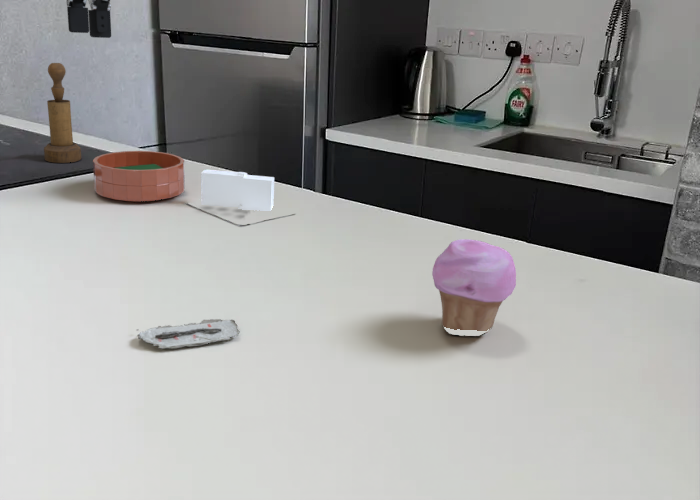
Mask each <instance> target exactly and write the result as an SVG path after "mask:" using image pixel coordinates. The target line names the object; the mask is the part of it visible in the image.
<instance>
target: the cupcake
mask: <svg viewBox="0 0 700 500" xmlns="http://www.w3.org/2000/svg"><path fill="white" fill-rule="evenodd" d="M516 269H517V268H516V265H515V262H514V259H513V256H512V255H511V253H510V252H509V251H507V250H506V249H505V248H503V247H500V246H497V245H493V244H490V243H488V242H485V241H482V240H476V239H467V238H464V239H463V238H461V239H460V238H459V239H456V240H453V241H451V242H450V243H449V245H448V246H447V247H446V248H445V249H444V250H443V251H442V253H439V255H438V256H436V258H435V261H434V264H433V267H432V271H431V275H432V279H433V284H434V287H435V288H436V289H437V290H438V292H439V296H440V300H441V301H440V302H441V310H442V312H441V313H442V314H441V324H442V327H443V326H444V327H446V328H450V329H454V330H457V329H460V330H477V331H487V330H488V329H490V328H491V327H492V328H493V327H494V323H495V319H496V317H497V314H498V312H499V308H500V306H501V305H502V303H503V302H504V301H506V300H507V299H508V298H509V297H510V296H511V295H512V294H513V292H514V291H515V289H516V286H517V271H516ZM492 328H491V329H492Z"/></svg>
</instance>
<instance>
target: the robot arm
mask: <svg viewBox="0 0 700 500" xmlns="http://www.w3.org/2000/svg"><path fill="white" fill-rule="evenodd" d="M87 1H88V4H89V7H90V9H89V7H86V5H87ZM110 2H111V0H66V2H65V3H66V9H67V10H66V11H67V25H68V31H69V32H70V33H74V34H75V33H76V34H77V33H79V34H80V33H81V34H88V33H89V36H90V37H91V38H99V39H100V38H101V39H102V38H103V39H104V38H105V39H110V38H111V37H112V21H111V20H112V19H111V10H112V6H111V3H110Z"/></svg>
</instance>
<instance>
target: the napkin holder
mask: <svg viewBox="0 0 700 500" xmlns="http://www.w3.org/2000/svg"><path fill="white" fill-rule="evenodd" d="M200 175H201V176H200V191H201V192H200V193H201V194H200V198H201V199H200V200H201V205H209V206H223V207H238V209H242V210H254V211H255V210H257V211H259V210H260V211H271V210H272V208H273V206H274V201H275V199H274V197H275V177H274V176H265V175H256V174H255V175H253V174H252V175H251V174H248V172H244V171H228V170H218V169H217V170H215V169H204V170H203V171H201V172H200Z"/></svg>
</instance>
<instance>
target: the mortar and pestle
mask: <svg viewBox="0 0 700 500" xmlns="http://www.w3.org/2000/svg"><path fill="white" fill-rule="evenodd" d="M47 72H48V75H49V77H50V78H51V80H52V83H53V85H52V86H51V87H50V89H51V92H52V96H53V99H49V100H47V101H46V102H47V103H46V104H47V113H48V126H49V137H50V139H49V140H50V142H49V143H47V144H46V145H45V146H44V147H43V153H44V154H43V156H44V160H45V161H46V162H48V163H53V164H68V163H69V164H70V162H71V163H75V162H76V163H77V162H79V161H81V160H82V148H81V146H80V145H78V144H77V143H76V142H74V138H73V126H72V111H71V109H72V108H71V101H70V99H64V94H65V87H64V86H63V84H62V83H63V80H64V78H65V76H66V73H67V72H66V67H65V66H64V65H63V64H62V62H51V63H50V64H49V65H48V67H47Z"/></svg>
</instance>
